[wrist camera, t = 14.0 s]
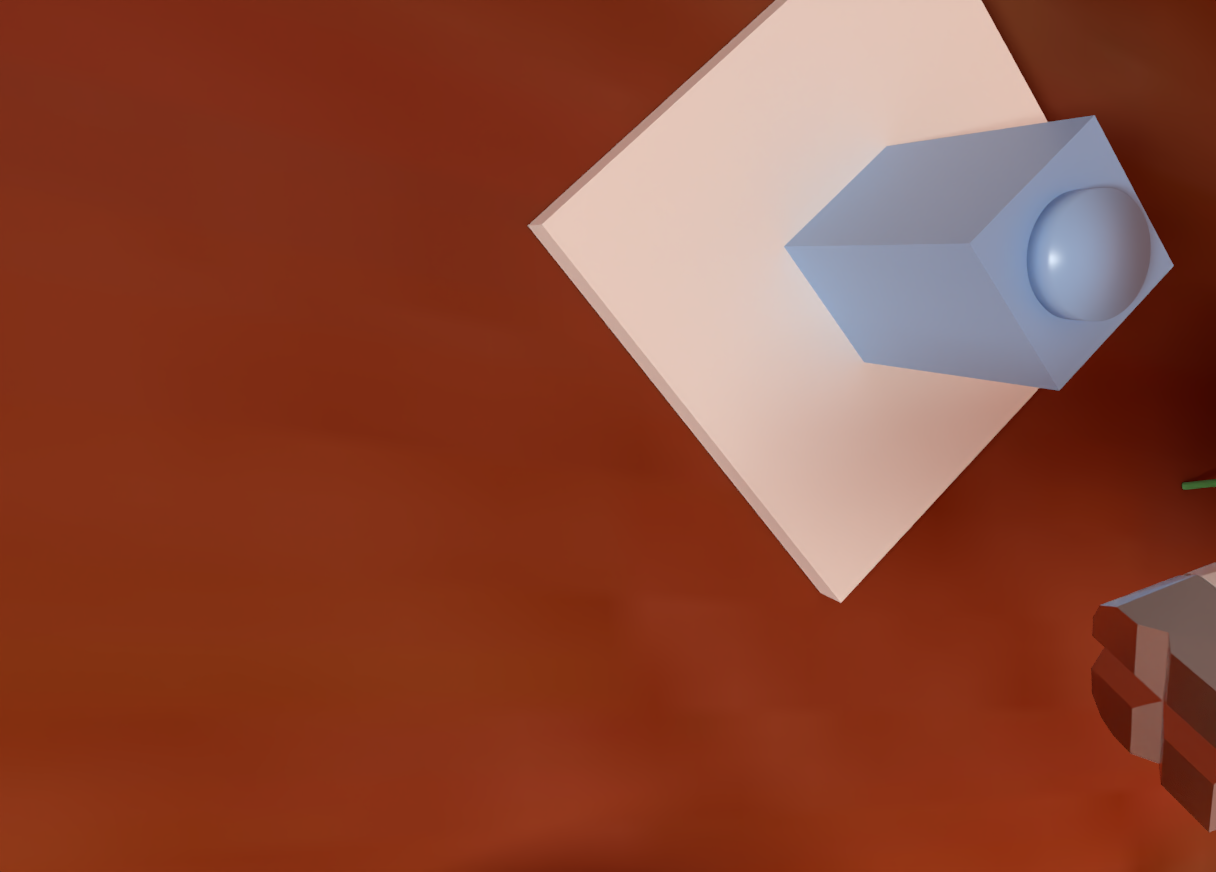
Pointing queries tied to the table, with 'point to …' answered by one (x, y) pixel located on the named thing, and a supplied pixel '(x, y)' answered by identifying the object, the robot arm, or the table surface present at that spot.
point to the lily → (1199, 484)
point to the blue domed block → (985, 253)
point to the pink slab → (792, 264)
